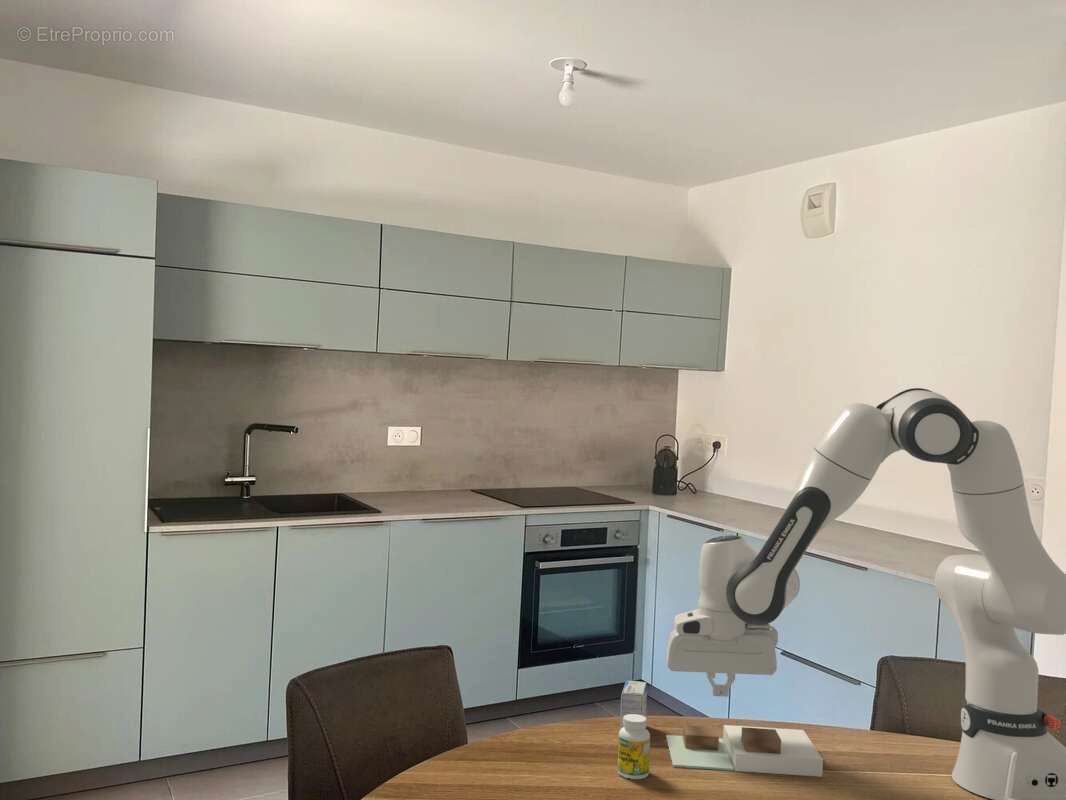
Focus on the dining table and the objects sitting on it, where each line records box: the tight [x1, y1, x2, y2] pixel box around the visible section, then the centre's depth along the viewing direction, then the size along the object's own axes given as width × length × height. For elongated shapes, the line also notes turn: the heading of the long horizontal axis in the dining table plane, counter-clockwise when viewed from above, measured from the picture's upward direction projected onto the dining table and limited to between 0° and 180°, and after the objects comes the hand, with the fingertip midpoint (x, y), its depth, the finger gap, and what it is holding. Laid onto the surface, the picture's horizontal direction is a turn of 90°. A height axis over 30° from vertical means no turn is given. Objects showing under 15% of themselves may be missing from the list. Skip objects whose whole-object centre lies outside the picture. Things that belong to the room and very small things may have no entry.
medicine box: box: [619, 680, 648, 731], centre depth 172 cm, size 8×4×9 cm, turn 168°
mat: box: [665, 734, 735, 772], centre depth 163 cm, size 11×14×1 cm
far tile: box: [682, 724, 720, 751], centre depth 166 cm, size 6×5×2 cm
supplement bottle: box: [617, 714, 651, 780], centre depth 152 cm, size 5×5×10 cm
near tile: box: [741, 727, 781, 754], centre depth 159 cm, size 6×5×2 cm
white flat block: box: [722, 724, 824, 778], centre depth 162 cm, size 15×14×3 cm
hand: (720, 695), depth 166 cm, fingers closed
